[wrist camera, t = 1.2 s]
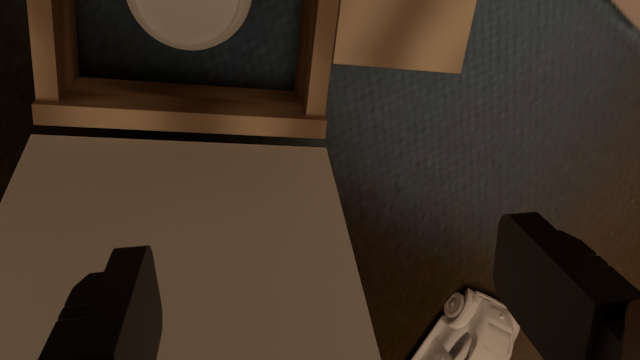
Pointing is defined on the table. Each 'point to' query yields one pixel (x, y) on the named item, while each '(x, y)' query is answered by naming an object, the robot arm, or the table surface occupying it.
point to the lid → (187, 245)
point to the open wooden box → (177, 86)
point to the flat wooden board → (403, 34)
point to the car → (471, 330)
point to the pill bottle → (190, 20)
